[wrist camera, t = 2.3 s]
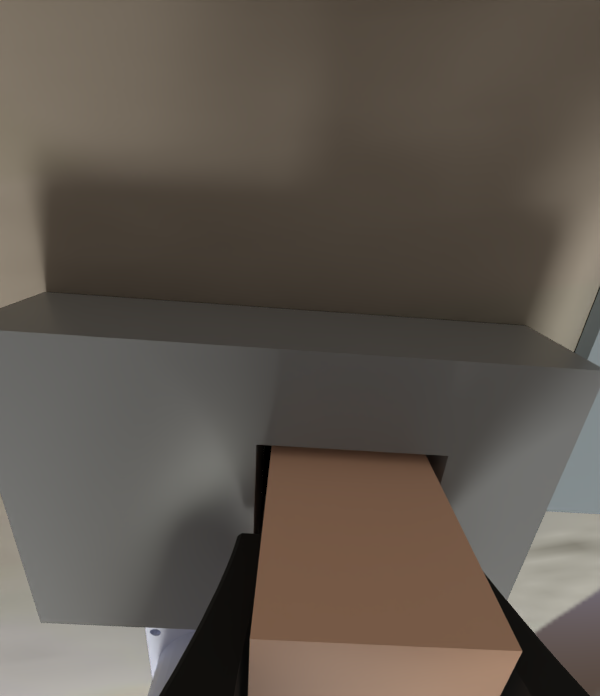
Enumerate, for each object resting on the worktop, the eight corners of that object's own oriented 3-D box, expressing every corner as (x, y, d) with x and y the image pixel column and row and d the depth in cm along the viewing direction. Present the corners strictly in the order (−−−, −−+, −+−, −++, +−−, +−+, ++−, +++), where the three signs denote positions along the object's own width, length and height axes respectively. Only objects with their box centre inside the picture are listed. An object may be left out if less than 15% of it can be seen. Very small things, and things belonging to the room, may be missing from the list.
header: (450, 555, 16) (488, 642, 13) (93, 536, 16) (40, 622, 13) (526, 325, 12) (607, 370, 9) (44, 292, 12) (-52, 326, 9)
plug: (380, 495, 15) (457, 779, 8) (272, 488, 15) (245, 772, 8) (399, 401, 13) (523, 651, 6) (277, 393, 13) (249, 639, 6)
